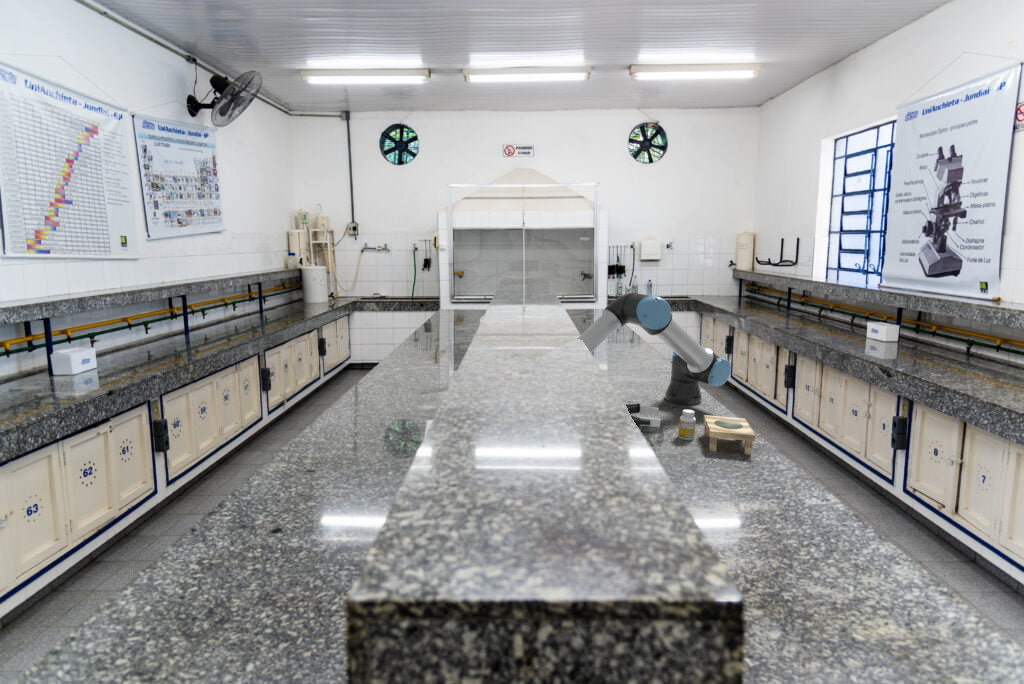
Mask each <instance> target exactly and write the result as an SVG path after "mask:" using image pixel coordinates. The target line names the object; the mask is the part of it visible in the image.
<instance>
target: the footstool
mask: <svg viewBox="0 0 1024 684" xmlns="http://www.w3.org/2000/svg"><path fill="white" fill-rule="evenodd" d="M703 423H704V426H703V427H704V429H703V436H704V437H707V438H709V446H708V451H709V452H717V445H718V438H719V439H729V440H738V441H744V444H743V445H744V446H743V453H744V455H745V454H746V455H747V456H752V450H753V443H754V442H756V434H755V432H754V431H753V429H752V427H751V426H750V424H749V422H748V421H747V419H746V418H741V417H732V416H731V417H730V416H720V415H710V414H709V415H708V414H707V415H706V414H703Z"/></svg>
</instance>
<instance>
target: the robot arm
mask: <svg viewBox="0 0 1024 684" xmlns="http://www.w3.org/2000/svg"><path fill="white" fill-rule="evenodd" d="M671 309H672V308H671V306H670V304H669V302H667V300H665V299H664V298H662V297H659V296H656V295H648V294H643V293H637V292H628V293H625V294H623V295H621V296H619V297H617V298H616V299H614V300H613V301H612V302H611V303H609V304H608V305H607V306H606V307H605V308H604V309H603V310H602V311H601V313H602V314H601V316H599V317H598V318H597V319H596V320H595V321H594V322H593V323H592V324H591V325H590V326H589V327H588V328H587V329H586V330H584V332H582V333H581V335H580V336H579V337H577V338H576V339H580V340H583V342H584V343H585V345H586V346H587V348H588V349H589V351H590V352H591V353H593V352H594V351H595V350H596V349H597V348H598V347H599V346H600V345H601V344H602V343H603V342H604V341H605V340H606V339H607V338H608V337H609V336H611V334H612V333H614V331H616V330H621V329H622V327H623V326H625V325H626V324H631V325H632V324H634V325H637V326H639V327H640V328H641V329H642V330H643V331H644V332H646V334H649V335H650V336H656V337H658V338H659V339H660V340H661V341H662V342H663V343H664V344H665V345H666V346H667V347H669V348H670V349H671V351H672V356H671V358H672V359H671V371H670V381H669V383H668V386H667V388H666V390H665V393H664V399H665V400H666V401H668V402H671V403H675V404H678V405H689V406H690V405H691V406H692V405H693V406H694V405H700V404H701V403H702V401H703V398H702V397H703V396H702V391H701V387H700V382H701V383H703V384H706V385H709V386H711V387H721V386H722V385H724V384H725V383H726V382H727V381H728V379H729V377H730V374H731V369H732V368H731V363H730V361H729V360H728V359H727V358H725V357H720V356H719V355H717V354H716V353H715V352H714V351H713V350H711V348H709V347H703V346H702V345H701V344H700V343H698V342H697V341H696V340H695V338H693V337H692V335H690V334H689V333H688V332H687V331H686V330H685V329H684V328H683V327H682V326H681V325H680V324H678V323H677V322H676V320H674V318H673V313H672V311H671ZM626 406H627V408H628V411H629V413H630V414H629V415H631V417H632V419H633V420H634V422H635V423H636V425H637V426H638V427H639V428H638V429H640V428H641V426H643V427H652V428H653V427H655V428H661V418H653V417H643V416H642V417H637V416H634V414H639V415H646V416H647V415H649V416H659V408H660V407H655V406H654V407H653V406H643V405H641V403H629V404H626ZM632 414H633V415H632Z"/></svg>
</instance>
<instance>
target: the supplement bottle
mask: <svg viewBox="0 0 1024 684" xmlns="http://www.w3.org/2000/svg"><path fill="white" fill-rule="evenodd" d="M695 413H696V411H694V410H693V409H683V410H682V415H681V416H679V417H680V418H679V423H678V424H679V425H678V439H681V440H683V441H684V440H685V441H692V440H694V439H695V434H696V422H697V419H696V417H695Z"/></svg>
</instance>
